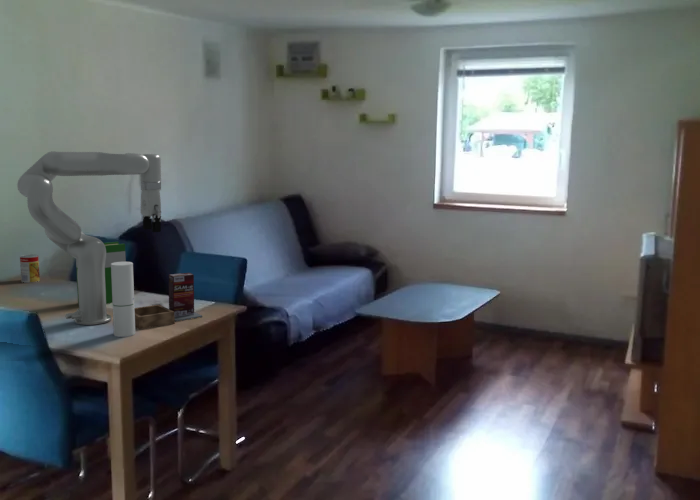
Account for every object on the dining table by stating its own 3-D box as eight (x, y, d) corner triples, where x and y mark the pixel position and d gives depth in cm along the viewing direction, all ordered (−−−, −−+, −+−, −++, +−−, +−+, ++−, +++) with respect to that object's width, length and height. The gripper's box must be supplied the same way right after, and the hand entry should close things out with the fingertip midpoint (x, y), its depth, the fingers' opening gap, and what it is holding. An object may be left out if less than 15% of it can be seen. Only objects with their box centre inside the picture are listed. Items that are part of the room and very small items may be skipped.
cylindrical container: (137, 331, 243) (135, 261, 239) (132, 336, 236) (129, 265, 232) (117, 330, 243) (114, 261, 239) (111, 336, 236) (108, 265, 232)
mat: (175, 321, 256) (175, 320, 256) (163, 315, 264) (163, 313, 264) (202, 317, 263) (202, 315, 262) (189, 311, 271) (189, 309, 271)
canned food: (43, 279, 324) (41, 254, 322) (33, 283, 316) (32, 257, 315) (27, 279, 325) (26, 254, 323) (17, 282, 318) (16, 256, 316)
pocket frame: (139, 329, 245) (139, 317, 244) (125, 321, 255) (124, 309, 254) (174, 323, 253) (174, 311, 253) (159, 315, 264) (159, 304, 263)
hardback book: (119, 297, 292) (117, 241, 288) (127, 300, 287) (125, 243, 283) (78, 303, 281) (75, 245, 277) (84, 306, 275) (81, 247, 271)
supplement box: (173, 317, 259) (172, 276, 256) (168, 315, 262) (167, 274, 260) (195, 314, 264) (194, 274, 261) (190, 311, 268) (189, 272, 265)
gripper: (133, 185, 268) (134, 228, 271) (149, 188, 255) (150, 233, 257) (152, 184, 273) (153, 227, 276) (168, 187, 259) (169, 232, 262)
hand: (151, 230), depth 266 cm, fingers open, 9 cm apart
